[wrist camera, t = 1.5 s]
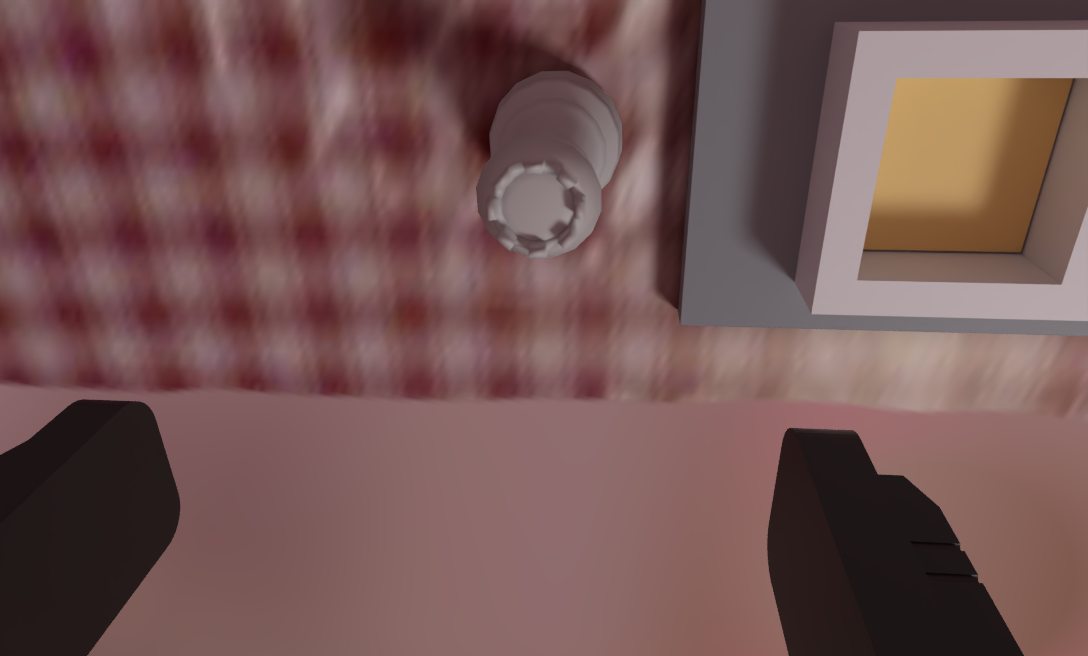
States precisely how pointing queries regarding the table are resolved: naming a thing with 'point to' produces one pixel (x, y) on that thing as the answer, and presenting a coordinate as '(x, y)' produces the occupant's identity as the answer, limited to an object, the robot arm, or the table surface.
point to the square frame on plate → (889, 167)
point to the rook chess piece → (548, 163)
